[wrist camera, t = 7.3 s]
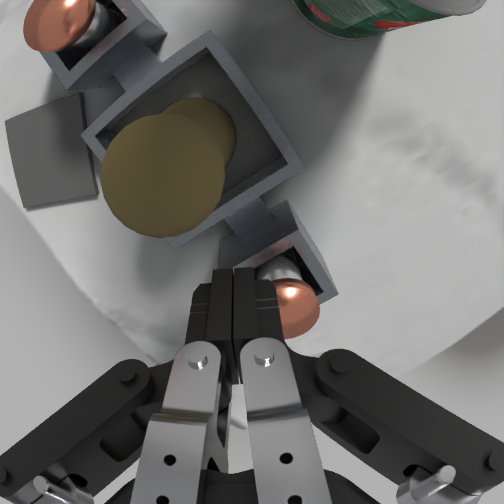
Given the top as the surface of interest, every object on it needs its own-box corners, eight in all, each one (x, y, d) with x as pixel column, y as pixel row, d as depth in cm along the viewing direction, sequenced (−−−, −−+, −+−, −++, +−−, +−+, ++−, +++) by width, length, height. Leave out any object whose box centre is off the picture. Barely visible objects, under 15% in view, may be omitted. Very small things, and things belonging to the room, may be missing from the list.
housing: (43, 57, 15) (4, 57, 11) (151, -37, 13) (130, -63, 8) (239, 302, 27) (240, 344, 23) (346, 243, 25) (367, 278, 20)
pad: (8, 120, 17) (4, 121, 17) (82, 92, 17) (78, 93, 17) (26, 205, 21) (23, 208, 21) (98, 192, 21) (96, 194, 21)
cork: (245, 169, 21) (251, 244, 12) (165, 189, 22) (112, 273, 12) (225, 87, 18) (212, 83, 9) (141, 111, 19) (58, 139, 9)
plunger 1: (81, 15, 14) (24, -2, 8) (132, -1, 14) (89, -31, 8) (82, 63, 16) (23, 62, 10) (134, 49, 16) (88, 35, 10)
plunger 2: (246, 233, 23) (249, 291, 17) (300, 229, 23) (322, 285, 17) (249, 277, 25) (253, 341, 19) (299, 274, 25) (316, 335, 19)
